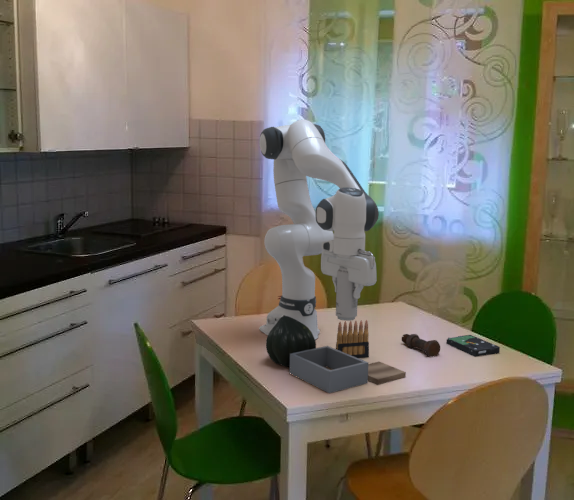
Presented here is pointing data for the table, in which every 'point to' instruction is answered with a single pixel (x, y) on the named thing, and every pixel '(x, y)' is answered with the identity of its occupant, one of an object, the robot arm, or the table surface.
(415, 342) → the bolt
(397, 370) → the walnut pad
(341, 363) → the grey rectangular open frame
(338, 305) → the energy drink can
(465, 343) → the disk drive
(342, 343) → the ammunition clip
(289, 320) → the squash
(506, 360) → the table surface
